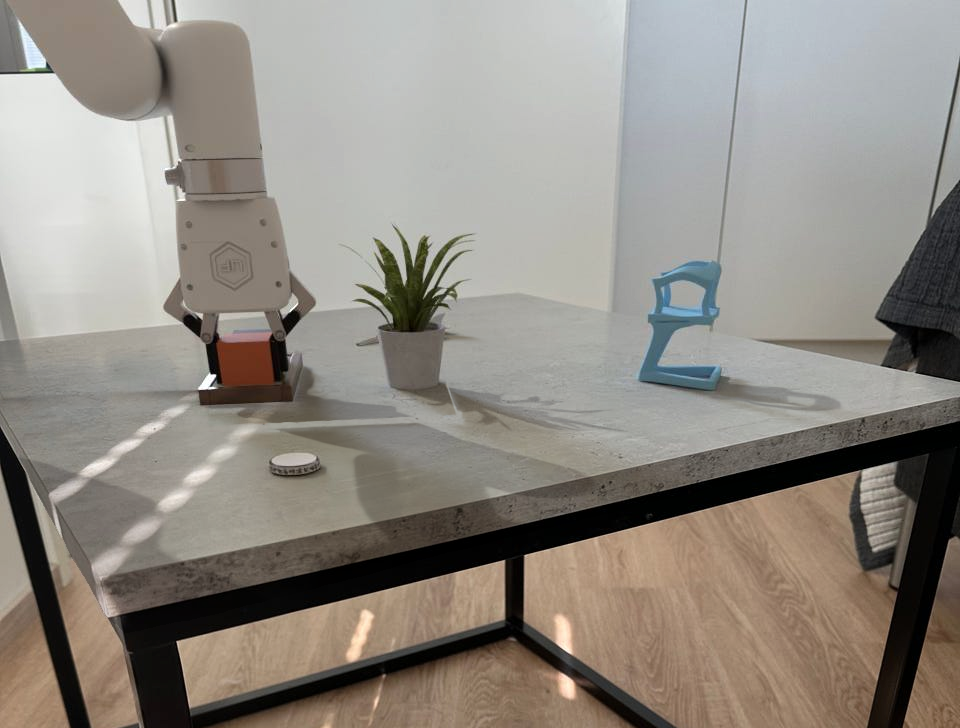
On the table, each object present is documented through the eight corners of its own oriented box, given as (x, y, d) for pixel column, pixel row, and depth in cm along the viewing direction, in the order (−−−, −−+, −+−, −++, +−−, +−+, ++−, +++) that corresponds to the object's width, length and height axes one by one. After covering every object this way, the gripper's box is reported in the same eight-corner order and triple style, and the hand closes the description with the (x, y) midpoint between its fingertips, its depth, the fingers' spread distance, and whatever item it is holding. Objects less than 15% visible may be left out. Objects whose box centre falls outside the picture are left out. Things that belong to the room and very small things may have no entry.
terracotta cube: (223, 389, 92) (216, 343, 90) (229, 378, 96) (223, 333, 94) (274, 387, 92) (268, 341, 90) (278, 376, 96) (272, 332, 94)
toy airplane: (335, 346, 119) (333, 327, 118) (444, 323, 133) (443, 306, 132) (377, 353, 114) (376, 333, 113) (485, 328, 128) (484, 311, 127)
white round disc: (321, 472, 72) (320, 464, 72) (269, 476, 71) (268, 468, 71) (318, 457, 75) (317, 450, 75) (269, 461, 75) (268, 453, 74)
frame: (200, 410, 90) (197, 389, 89) (223, 373, 105) (221, 355, 104) (293, 406, 91) (291, 385, 90) (303, 370, 106) (301, 352, 105)
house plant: (516, 381, 100) (516, 215, 92) (452, 410, 89) (447, 225, 81) (404, 369, 106) (396, 212, 98) (332, 395, 95) (316, 222, 87)
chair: (646, 370, 103) (654, 254, 98) (722, 374, 101) (734, 256, 95) (632, 385, 97) (640, 263, 91) (713, 390, 94) (726, 265, 89)
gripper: (120, 185, 81) (158, 392, 90) (315, 180, 83) (334, 385, 91) (138, 182, 88) (172, 376, 97) (318, 178, 89) (336, 369, 98)
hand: (250, 378), depth 94 cm, fingers closed on terracotta cube, 5 cm apart
